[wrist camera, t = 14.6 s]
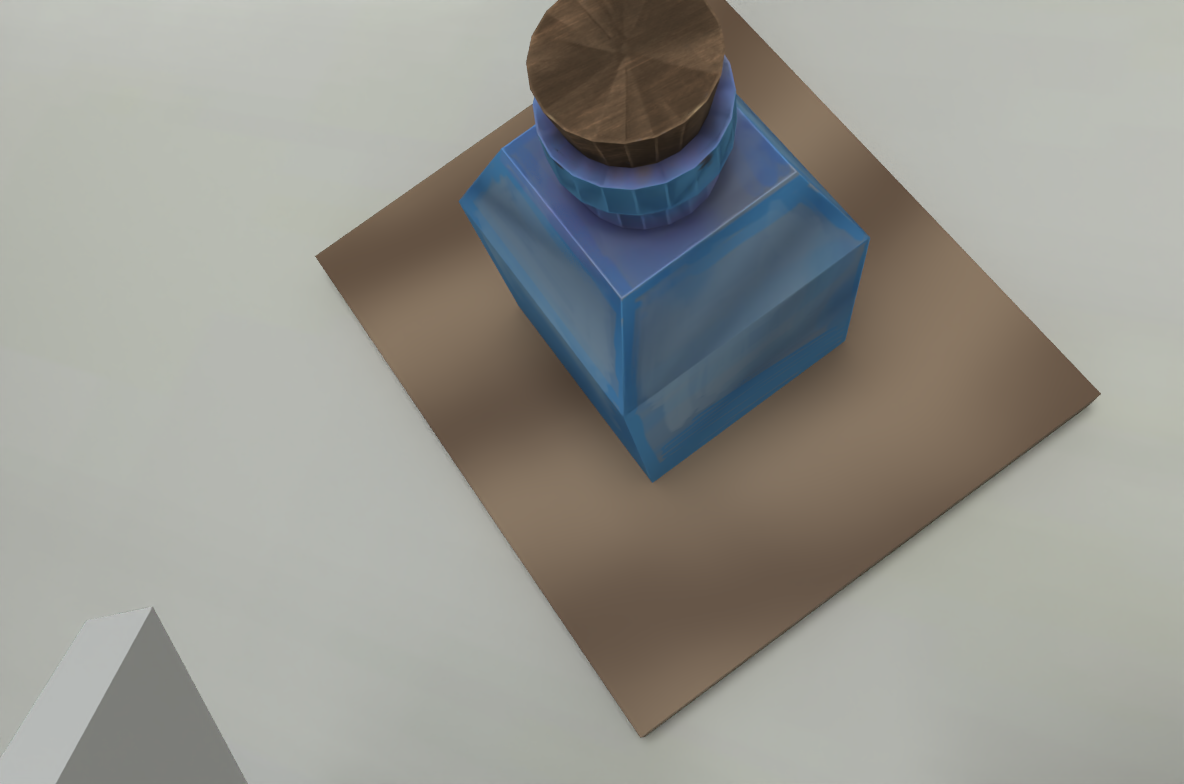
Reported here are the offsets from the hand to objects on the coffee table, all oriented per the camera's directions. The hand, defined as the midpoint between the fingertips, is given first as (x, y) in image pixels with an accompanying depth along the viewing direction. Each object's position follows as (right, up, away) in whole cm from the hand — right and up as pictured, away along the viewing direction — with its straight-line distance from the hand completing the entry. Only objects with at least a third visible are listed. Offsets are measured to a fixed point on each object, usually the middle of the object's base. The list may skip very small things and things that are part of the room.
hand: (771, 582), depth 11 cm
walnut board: (0, +4, +18) cm, 18 cm away
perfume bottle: (0, +4, +17) cm, 17 cm away
